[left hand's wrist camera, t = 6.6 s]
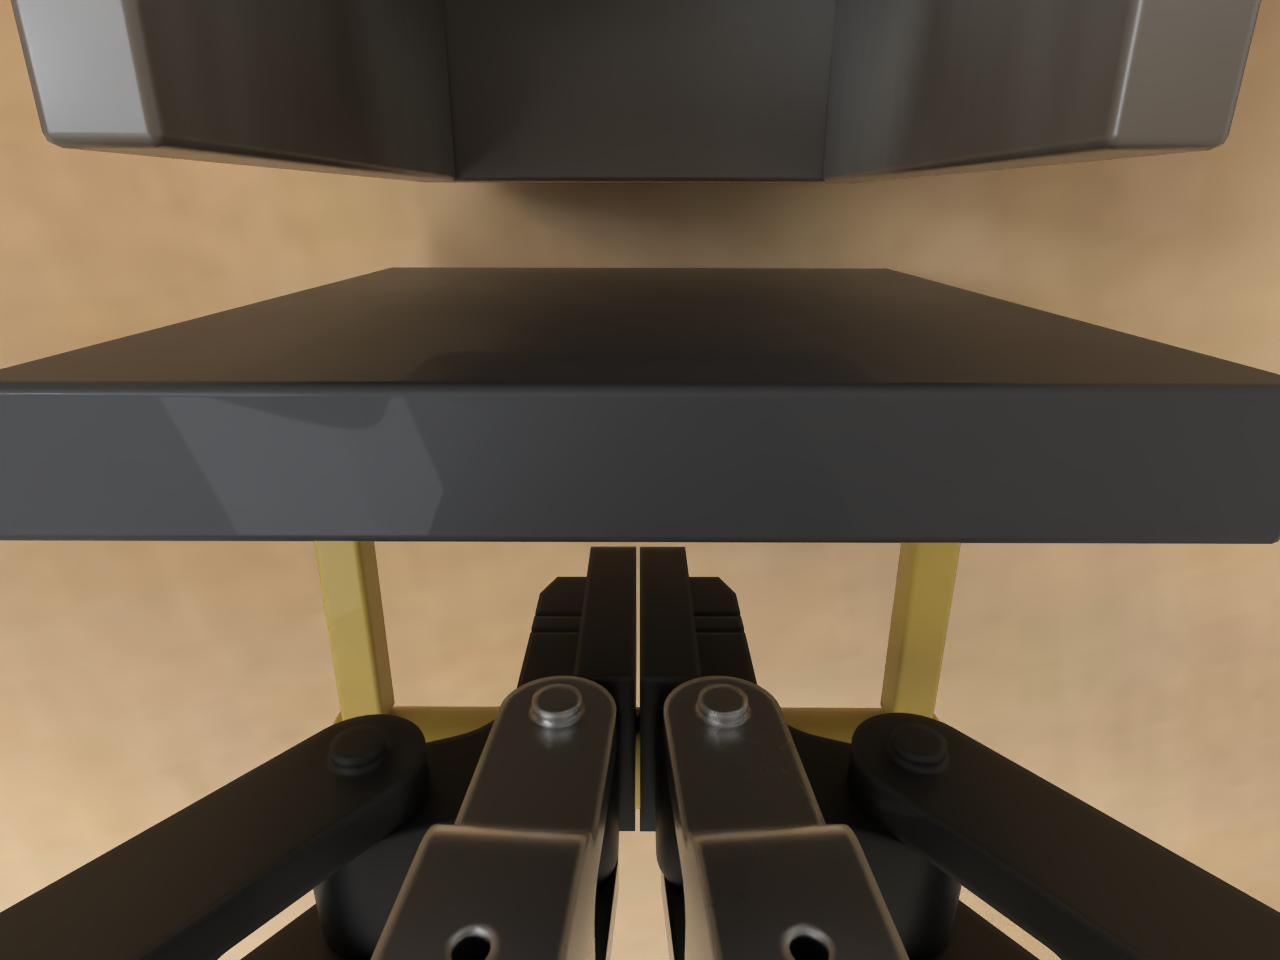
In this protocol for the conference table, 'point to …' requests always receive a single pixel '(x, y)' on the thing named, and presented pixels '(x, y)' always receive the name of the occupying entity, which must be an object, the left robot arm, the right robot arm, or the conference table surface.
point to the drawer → (638, 301)
